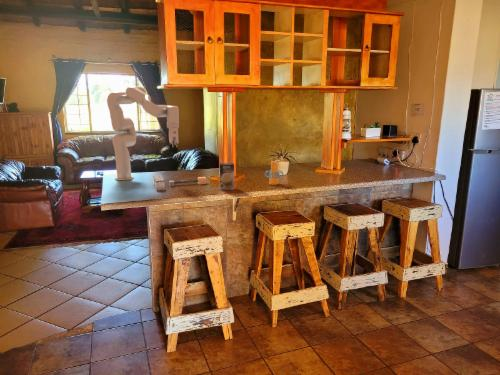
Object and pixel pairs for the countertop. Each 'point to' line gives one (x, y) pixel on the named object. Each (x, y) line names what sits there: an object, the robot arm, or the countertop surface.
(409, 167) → the countertop surface
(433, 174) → the countertop surface
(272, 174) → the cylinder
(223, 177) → the coffee box
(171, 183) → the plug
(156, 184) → the motor housing
